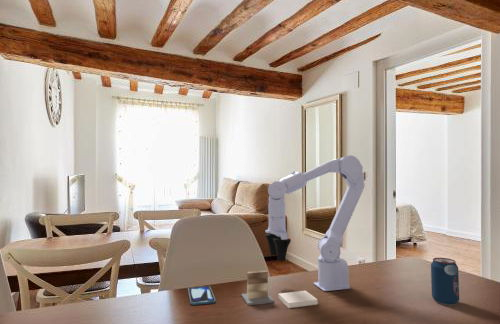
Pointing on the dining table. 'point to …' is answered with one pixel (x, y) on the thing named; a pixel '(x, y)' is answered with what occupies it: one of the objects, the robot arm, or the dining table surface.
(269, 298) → the mat
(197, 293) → the smartphone
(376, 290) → the dining table surface
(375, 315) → the dining table surface
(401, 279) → the dining table surface
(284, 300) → the tile
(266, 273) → the stepped beige block
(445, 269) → the soda can
